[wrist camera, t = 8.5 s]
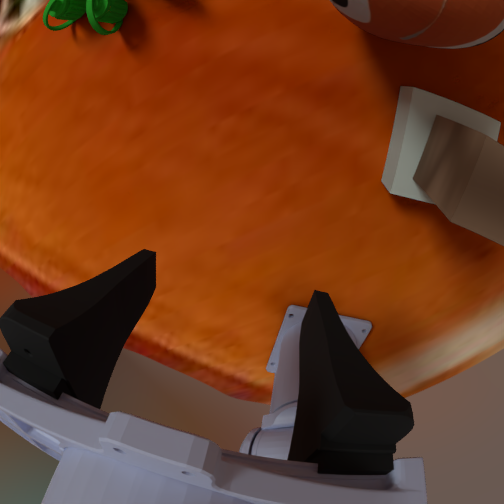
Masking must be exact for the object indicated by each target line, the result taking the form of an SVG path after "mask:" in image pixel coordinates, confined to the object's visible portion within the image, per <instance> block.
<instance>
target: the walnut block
mask: <svg viewBox="0 0 504 504" xmlns="http://www.w3.org/2000/svg"><path fill="white" fill-rule="evenodd" d="M413 180H414V181H415V182H416V183H417V184H418V185H419V186H420V187H421V189H422V190H423V191H424V192H425V193H426V194H427V195H428V196H429V197H430V199H431V200H432V201H433V202H434V203H435V204H436V205H437V206H438V208H439V209H440V210H441V211H442V212H443V213H444V215H445V216H446V217H447V218H448V219H449V221H450V222H452V223H455V224H457V225H459V226H462V227H464V228H466V229H468V230H471V231H473V232H475V233H477V234H479V235H482V236H484V237H486V238H488V239H490V240H492V241H494V242H496V243H498V244H501V245H503V246H504V146H503V145H501V144H500V143H498V142H497V141H495V140H494V139H492V138H491V137H489V136H487V135H485V134H483V133H481V132H479V131H477V130H474V129H472V128H470V127H467V126H465V125H462V124H460V123H458V122H455V121H452V120H450V119H447V118H445V117H442V116H439V115H437V114H436V117H435V120H434V123H433V126H432V129H431V132H430V134H429V137H428V140H427V143H426V145H425V148H424V151H423V153H422V156H421V159H420V161H419V164H418V166H417V169H416V171H415V174H414V176H413Z"/></svg>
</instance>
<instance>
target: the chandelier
mask: <svg viewBox="0 0 504 504" xmlns="http://www.w3.org/2000/svg"><path fill="white" fill-rule="evenodd" d="M110 6H111V7H110ZM109 8H110V9H109ZM108 10H109V11H108ZM110 11H111V12H110ZM127 11H128V5H127V2H126V1H125V0H50V1H49V3H48V4H47V6H46V8H45V11H44V14H43V22H44V25H45V26H46V27H47V28H49V29H50V30H53V31H57V30H61V29H64V28H66V27H68V26H69V25H71V24H72V23H74V22H75V21H76V20H77V19H79V18H80V17H82V16H83V15H84V13H85V12H86V13H87V17H88V20H89V22H90V24H91V26H92V27H93V29H94V30H95V31H96V32H98V33H99V34H102V35H108V34H112V33H115V32H116V31H117V30H118V29H119V28H120V27H121V25H122V22H123V18H124V17H125V15H126V13H127ZM114 12H115V13H114ZM49 14H50V15H51V16H52V17H55V18H57V19H62V20H69V21H67V22H66V23H64V24H62V25H59V26H55V27H52V26H49V24H48V15H49ZM98 21H100V22H106V23H111V24H113V23H116V24H115V26H114V28H113V29H112V30H111V31H107V30H105V29H103V28H102V27H101V26H100V25H99V23H98Z"/></svg>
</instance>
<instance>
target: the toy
mask: <svg viewBox="0 0 504 504" xmlns="http://www.w3.org/2000/svg"><path fill="white" fill-rule="evenodd" d="M330 1H331V2H332V4H333V5H334V6H335V8H336V9H337V10H338V11H339V12H340V13H341V14H342V15H343V16H345V17H346V18H347V19H348V20H350V21H351V22H352V23H354V24H355V25H356V26H358V27H359V28H361V29H363V30H364V31H366V32H368V33H370V34H372V35H375V36H378V37H380V38H383V39H387V40H391V41H395V42H399V43H405V44H411V45H418V46H426V47H434V48H467V47H472V46H476V45H479V44H482V43H485V42H487V41H489V40H491V39H492V38H494V37H496V36H497V35H498V34H500V33H501V32H502V31H503V30H504V0H330Z"/></svg>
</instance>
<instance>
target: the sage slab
mask: <svg viewBox="0 0 504 504" xmlns="http://www.w3.org/2000/svg"><path fill="white" fill-rule="evenodd" d="M436 114H437V115H439V116H442V117H445V118H447V119H450V120H452V121H455V122H458V123H460V124H462V125H465V126H467V127H470V128H472V129H474V130H477V131H479V132H481V133H483V134H485V135H487V136H489V137H491V138H492V139H494V140H495V141H497V139H498V135H499V130H500V125H501V122H499V121H497V120H495V119H493V118H491V117H489V116H487V115H485V114H482V113H480V112H478V111H476V110H473V109H471V108H469V107H466V106H464V105H462V104H459V103H457V102H454V101H452V100H449V99H446V98H444V97H441V96H438V95H436V94H433V93H430V92H427V91H424V90H421V89H418V88H415V87H409V86H400V93H399V99H398V104H397V110H396V115H395V121H394V126H393V131H392V136H391V141H390V145H389V150H388V154H387V159H386V163H385V168H384V172H383V176H382V180H381V181H382V183H383V184H384V185H385V187H386V188H387V190H388V191H389V192H390V194H395V195H399V196H403V197H407V198H411V199H416V200H420V201H423V202H427V203H431V204H435V203H434V202H433V201H432V200H431V199H430V197H429V196H428V195H427V194H426V193H425V192H424V191H423V190H422V189H421V187H420V186H419V185H418V184H417V183H416V182H415V181H414V180H413V176H414V174H415V171H416V169H417V166H418V164H419V161H420V159H421V156H422V153H423V151H424V148H425V145H426V143H427V140H428V137H429V134H430V132H431V129H432V126H433V123H434V120H435V117H436ZM435 205H436V204H435Z"/></svg>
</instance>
